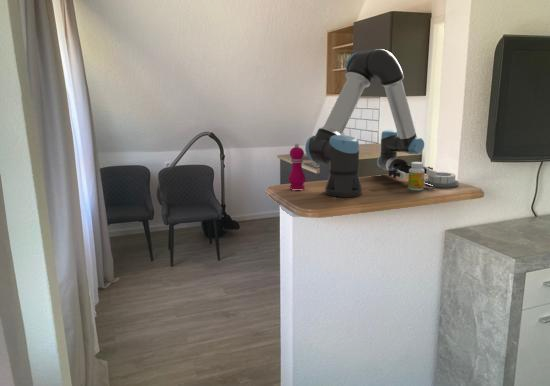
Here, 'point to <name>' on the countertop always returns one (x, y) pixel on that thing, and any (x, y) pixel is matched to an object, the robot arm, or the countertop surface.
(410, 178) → the supplement bottle
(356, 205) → the countertop surface
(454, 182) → the bottle holder
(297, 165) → the pepper mill
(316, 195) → the countertop surface
